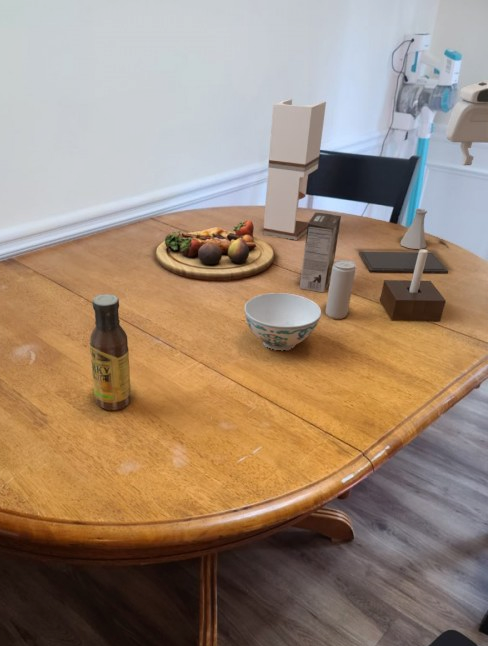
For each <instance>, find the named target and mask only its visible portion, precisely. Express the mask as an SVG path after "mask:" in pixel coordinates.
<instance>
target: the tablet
mask: <svg viewBox="0 0 488 646" xmlns="http://www.w3.org/2000/svg"><path fill="white" fill-rule="evenodd" d="M418 253H419V251H418V252H417V251H358V255H359V257H360V259H361V260H362V263H363V264H364V266H365V267H366V269H367V271H368V272H369V274H370V273H371V274H373V273H375V274H376V273H377V274H378V273H379V274H414V269H415V265H416V261H417V257H418ZM448 273H449V270H448V269H447V268H446V266H445V265H444V264H443V263H442V262H441V260H440V259H439V258H438V257H437V256H436V255H435V254H434V252H432V251H431V252H429V251H428V254H427V258H426V262H425V266H424V270H423V273H422V274H438V275H439V274H441V275H443V274H444V275H445V274H446V275H448Z"/></svg>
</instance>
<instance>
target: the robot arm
mask: <svg viewBox="0 0 488 646" xmlns="http://www.w3.org/2000/svg"><path fill="white" fill-rule="evenodd" d="M459 98H460V99H461V100H459V101H458V102H457V103H456V104H455V105H454V107H453V109H452V111H451V114H450V117H449V120H448V123H447V126H446V130H445V136H446V138H447V140H448V141H449V142H451V143H460V149H461V153H462V160H461V165H462V166H472V164H473V160H474V156H473V155H472V154H470V151H469V149H471V148H472V146H473V143H477V144H478V143H479V144H481V143H488V78H487V79H484V80H481V81H478V82H476V83H472V84H469V85H468V84H467V85H466V86H464V87H462V88H461V90H460V93H459Z"/></svg>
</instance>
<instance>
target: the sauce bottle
mask: <svg viewBox="0 0 488 646" xmlns="http://www.w3.org/2000/svg"><path fill="white" fill-rule="evenodd" d="M92 308H93V311H94V320H95V321H94V324H95V327H94V328H93V330H92V332H91V334H90V338H89V351H90V362H91V371H92V372H91V373H92V374H91V375H92V382H93V383H92V384H93V392H94V396H95V401H96V403H97V406H98V407H100V408H102V409H104V410H106V411H117V410H122V409H124V408H126V407H127V406H128V405H129V404H130V402H131V392H132V391H131V371H130V369H131V368H130V354H129V346H128V334H127V333H126V331H125V330H124V328H123V327H122V326H121V325H120V316H119V315H120V314H119V309H120V299H119V297H118V296H117V295H115V294H111V293H103V294H98V295H95V297H94V298H93V299H92ZM125 406H126V407H125Z"/></svg>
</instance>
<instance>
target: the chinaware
mask: <svg viewBox="0 0 488 646" xmlns="http://www.w3.org/2000/svg"><path fill="white" fill-rule="evenodd" d="M320 307H321V306H319V305H318V304H317V303H316V302H315V301H313V300H311V299H309V298H307V297H305V296H301V295H298V294H293V293H287V292H267V293H262V294H258V295H256V296H253V297H251V298H249V299H248V301H246V302H245V304H244V315H245V319H246V322H247V323H246V324H247V325H248V327H249V329H250V331H251V332H252V334H253V335H254V336H255V337H256V338H257V339H258V340H260V341H261V342H262V344H263V346H264V347H266V348H267V347H268V348H267V349H269V348H271V349H270V350H272V349H274V350H273V351H276V350H281V351H280V352H284V351H283V350H286V351H290V350H292V349H294V348H295V347H296V345H298V344H300V343H302V342H303V341H304V340H306V339H308V337H309V336H310V335H311V334H312V333H313V332H314V330H315V329H316V327H317V325H318V324H319V322H320V318H321V317H322V310H321V308H320ZM291 348H292V349H291Z"/></svg>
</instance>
